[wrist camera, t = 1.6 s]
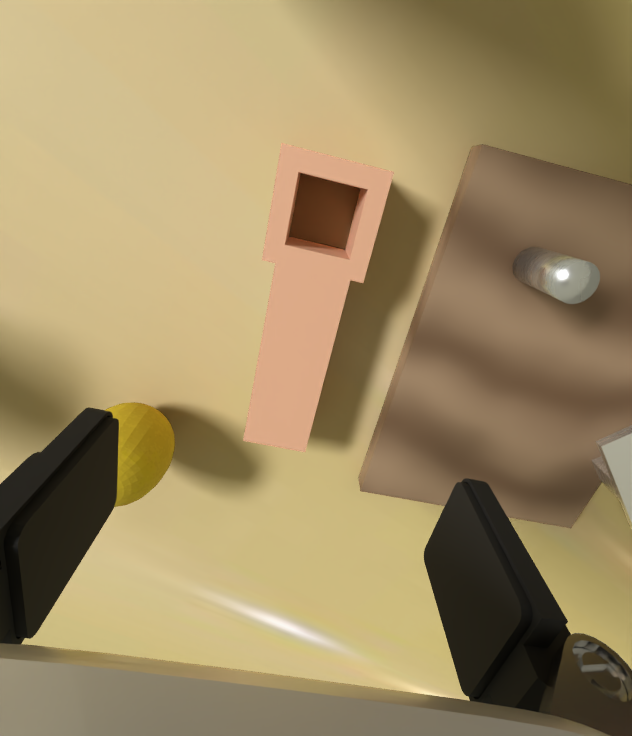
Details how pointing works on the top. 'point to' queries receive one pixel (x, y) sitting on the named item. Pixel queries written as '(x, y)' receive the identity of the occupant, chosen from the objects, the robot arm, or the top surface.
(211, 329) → the top surface
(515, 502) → the walnut plate
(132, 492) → the lemon
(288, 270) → the link
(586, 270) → the cylinder
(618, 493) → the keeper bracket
